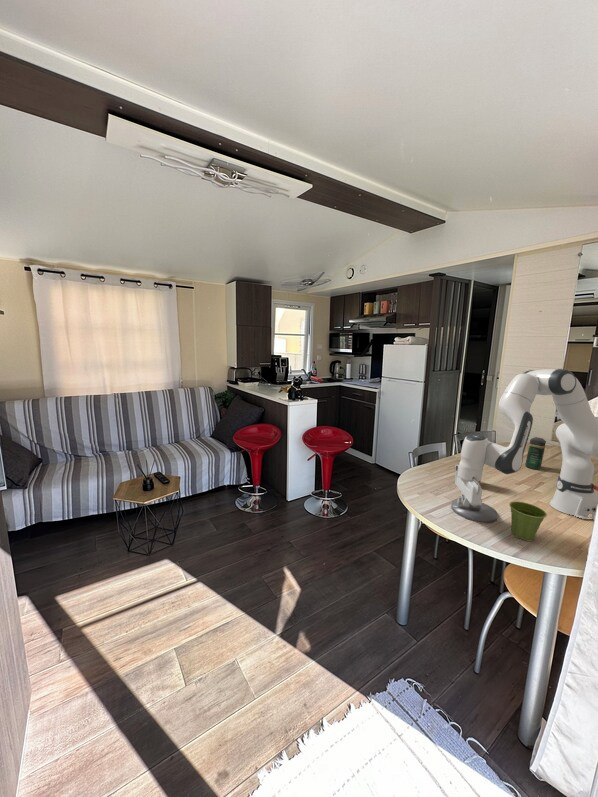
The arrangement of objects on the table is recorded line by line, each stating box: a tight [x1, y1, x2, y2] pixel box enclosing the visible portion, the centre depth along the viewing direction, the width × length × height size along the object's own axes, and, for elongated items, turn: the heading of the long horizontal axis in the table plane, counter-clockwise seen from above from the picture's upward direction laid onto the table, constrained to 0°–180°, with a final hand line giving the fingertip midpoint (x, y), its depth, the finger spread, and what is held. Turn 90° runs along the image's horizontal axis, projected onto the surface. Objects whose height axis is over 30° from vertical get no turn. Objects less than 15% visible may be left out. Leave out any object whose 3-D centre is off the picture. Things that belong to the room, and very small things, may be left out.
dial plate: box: [450, 498, 499, 524], centre depth 144 cm, size 18×18×2 cm
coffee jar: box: [524, 436, 547, 470], centre depth 202 cm, size 10×8×19 cm
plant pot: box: [509, 501, 548, 542], centre depth 127 cm, size 12×12×11 cm
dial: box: [457, 495, 483, 511], centre depth 144 cm, size 10×5×4 cm, turn 82°
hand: (464, 504), depth 139 cm, fingers closed
